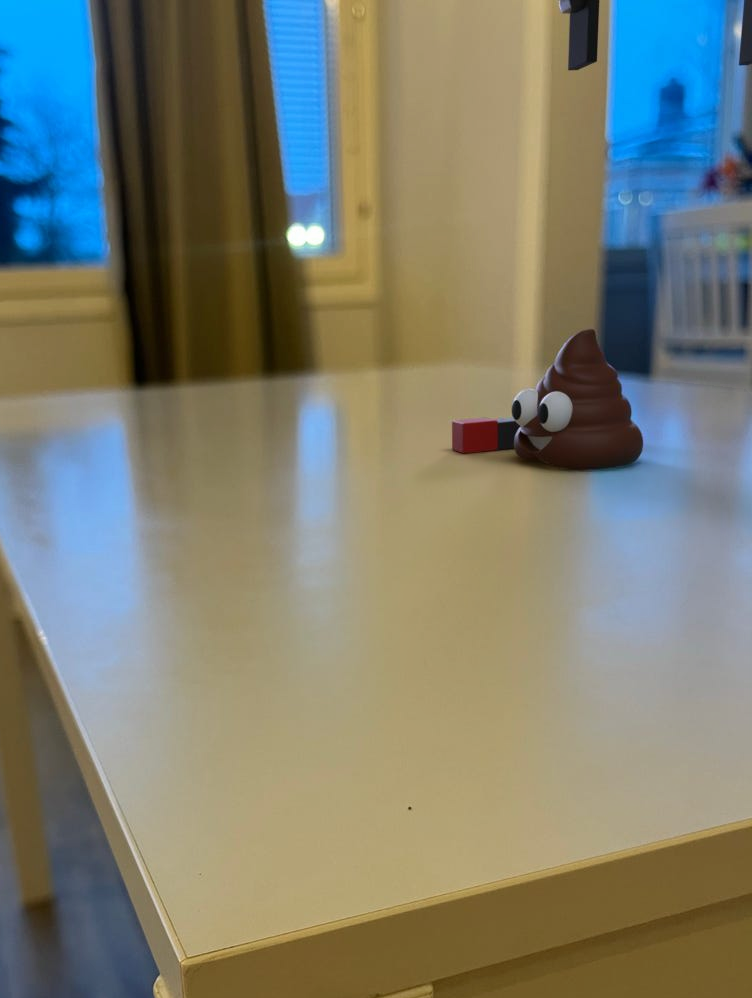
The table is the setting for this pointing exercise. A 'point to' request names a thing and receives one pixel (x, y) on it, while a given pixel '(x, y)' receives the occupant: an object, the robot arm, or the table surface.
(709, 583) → the table surface
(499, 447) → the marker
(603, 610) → the table surface
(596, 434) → the poop emoji
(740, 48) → the robot arm
